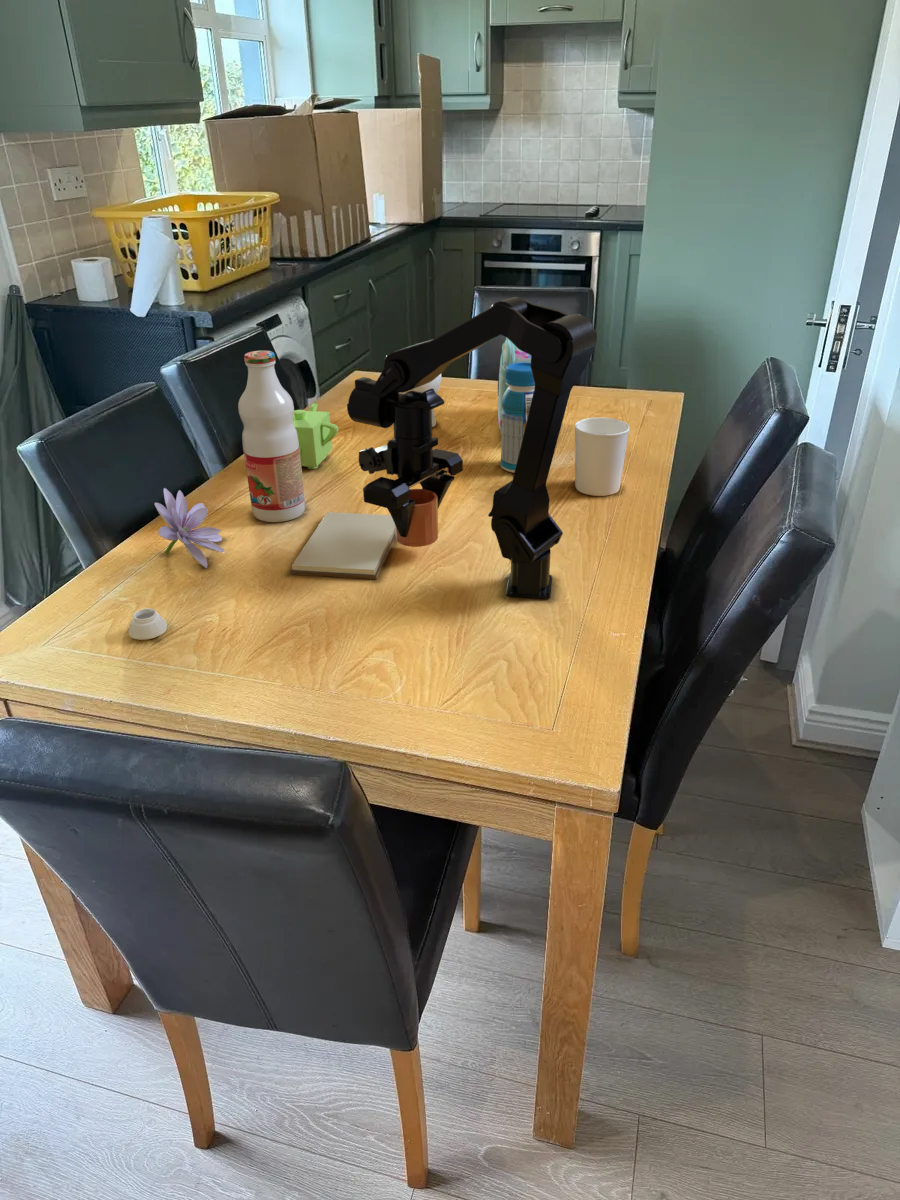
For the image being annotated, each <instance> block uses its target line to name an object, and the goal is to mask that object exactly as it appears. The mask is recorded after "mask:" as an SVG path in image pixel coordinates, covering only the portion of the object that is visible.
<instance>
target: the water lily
mask: <svg viewBox="0 0 900 1200" xmlns="http://www.w3.org/2000/svg"><path fill="white" fill-rule="evenodd" d="M163 498H164V503H165V506H164V504H162V503H160V502H154V503H153V504H154V506H155V509H156V511H157V513H158V514H159V515H160V517H161V519H162V520H163V521H164V522H165V523H166V524H167V525H163V526H161V527H160V528H159V529H158V531H157V532H158V533H157V534H158V535H159V536H160V537H161V538H163V539H165V540H168V541H171V542H170V543H169V544H168V546H167V547H166V549H165V550H164V554H165V555H169V554H170V552H171V550H172V549H173V547H174V545H176V544H177V542H178V540H179V541H180V542H181V544H183V546H184V548H185V549H186V551H187V552H188V553H189V555H190V556H191V557H192V558H193V559H194V560H195V561H196V562H197V563H198V564H200V565H201V566H202V567H203V568H205V569H207V568H208V559H207V557H206V555H205V554H204V553H203V551H202V550H201V549H200V548H199V547H202V548H204V549H206V550H210V551H213V552H217V553H223V554H225V553H226V551H225V550H224V549H223V548H222V547H221V546H220V545H218V544H217V543H218V542H222V541H223V538H222V535H220V534H219V533H221V532H222V530H221V529H219V528H218V527H212V526H203V527H201V524H202V523H203V522H204V521H205V520H206V519H207V517H208V513H209V509H208V507H205V504H204V503H203V502H199V503H196V504H195V505H193V506H192V507H191V508H190V510H189V506H188V505H189V504H188V501H187V499H186V497H185V495H184V493H183V492H182V491H181V490H180V489H179V490H178V491H177V493H176V497H174V495H173V493H171V491H169V490H168V489H167V488H166V487H164V488H163ZM196 545H197V546H196ZM198 546H199V547H198Z"/></svg>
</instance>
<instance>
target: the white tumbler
mask: <svg viewBox="0 0 900 1200" xmlns="http://www.w3.org/2000/svg"><path fill="white" fill-rule="evenodd" d="M630 430H631V427H630V425H629V423H627V422H626V421H623V420H621V419H617V418H613V417H602V416H601V417H599V416H598V417H597V416H596V417H588V418H582V419H580V420H578V421H576V422H575V423H574V487H575V489H576V490H577V491H578V492H580V493H582V494H584V495H588V496H594V497H606V496H611V495H614V494H616V493H618V492H619V490H620V489H621V483H622V478H623V473H624V465H625V460H626V453H627V446H628V440H629V433H630Z"/></svg>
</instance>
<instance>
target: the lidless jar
mask: <svg viewBox="0 0 900 1200" xmlns="http://www.w3.org/2000/svg"><path fill="white" fill-rule="evenodd" d="M167 629H168V624H167V621H166V620H165V619H164V618H163V617H162V615H161V614H159V613H158V612H157V610H155V608H150V607H146V608H141V609H139V610H137V611H135V612H134V613H133V615H132V619H131V620H130V623H129V626H128V635H129V637H131V638H132V639H135V640H141V641H143V640H150V639H151V640H152V639H154V638H157V637H159V636H161V635H162V634H164V633H165V632H166V631H167Z"/></svg>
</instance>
